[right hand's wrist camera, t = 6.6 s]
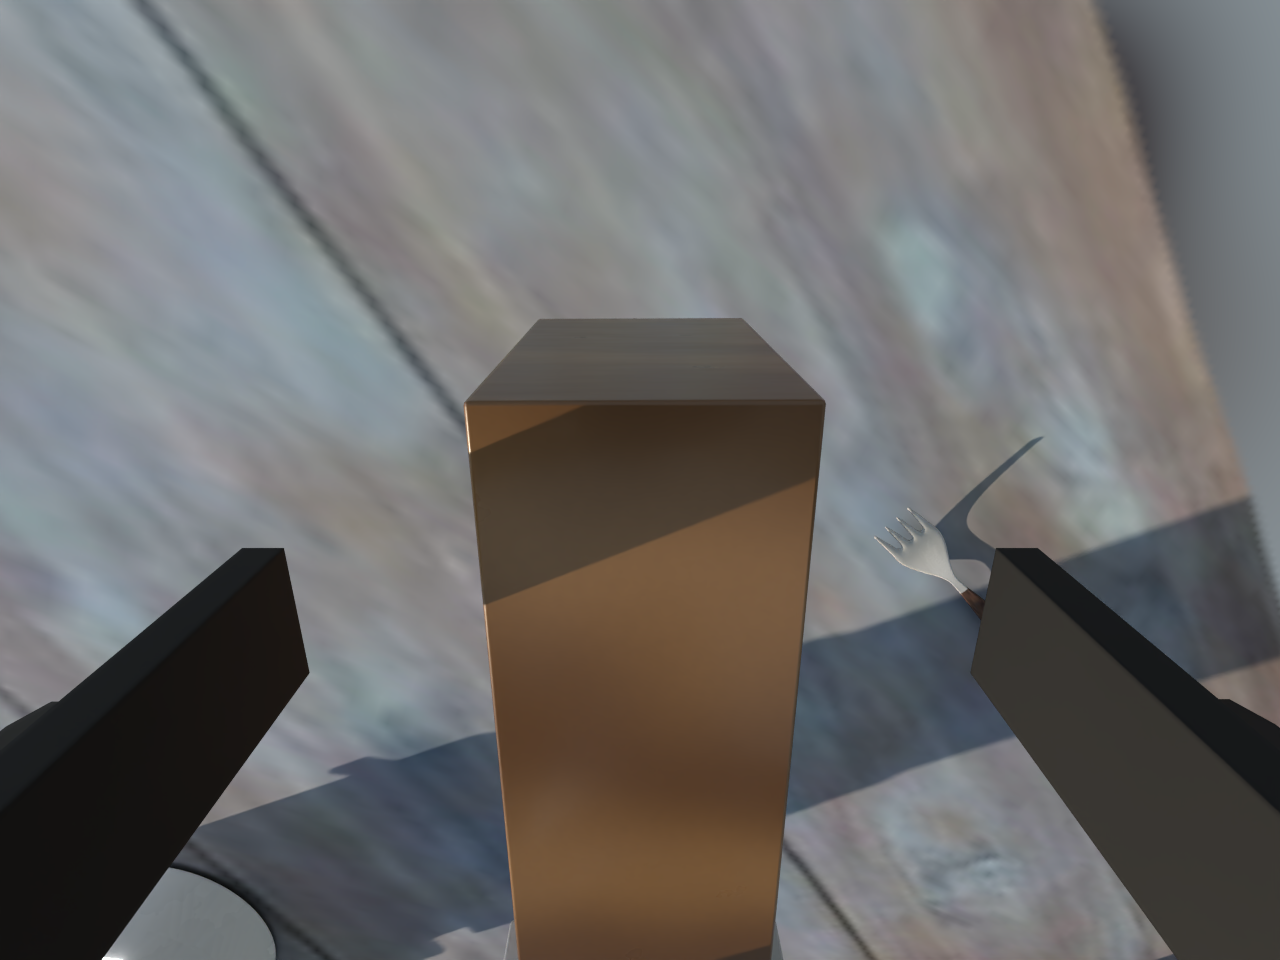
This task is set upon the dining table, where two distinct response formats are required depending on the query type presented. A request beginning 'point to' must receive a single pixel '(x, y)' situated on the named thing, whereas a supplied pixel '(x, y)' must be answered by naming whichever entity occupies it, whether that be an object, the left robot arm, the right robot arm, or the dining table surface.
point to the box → (644, 628)
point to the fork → (930, 557)
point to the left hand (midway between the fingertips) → (644, 930)
